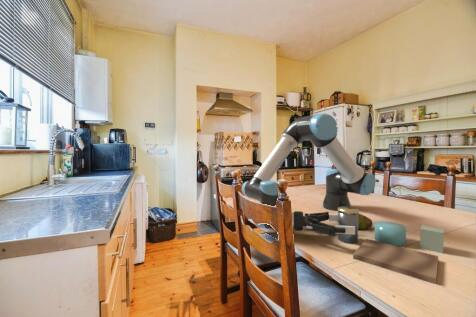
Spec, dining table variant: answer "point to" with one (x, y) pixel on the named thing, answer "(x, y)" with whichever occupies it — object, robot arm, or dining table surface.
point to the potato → (364, 222)
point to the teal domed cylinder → (390, 233)
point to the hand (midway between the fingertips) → (350, 224)
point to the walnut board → (398, 259)
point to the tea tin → (348, 223)
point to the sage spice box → (431, 238)
